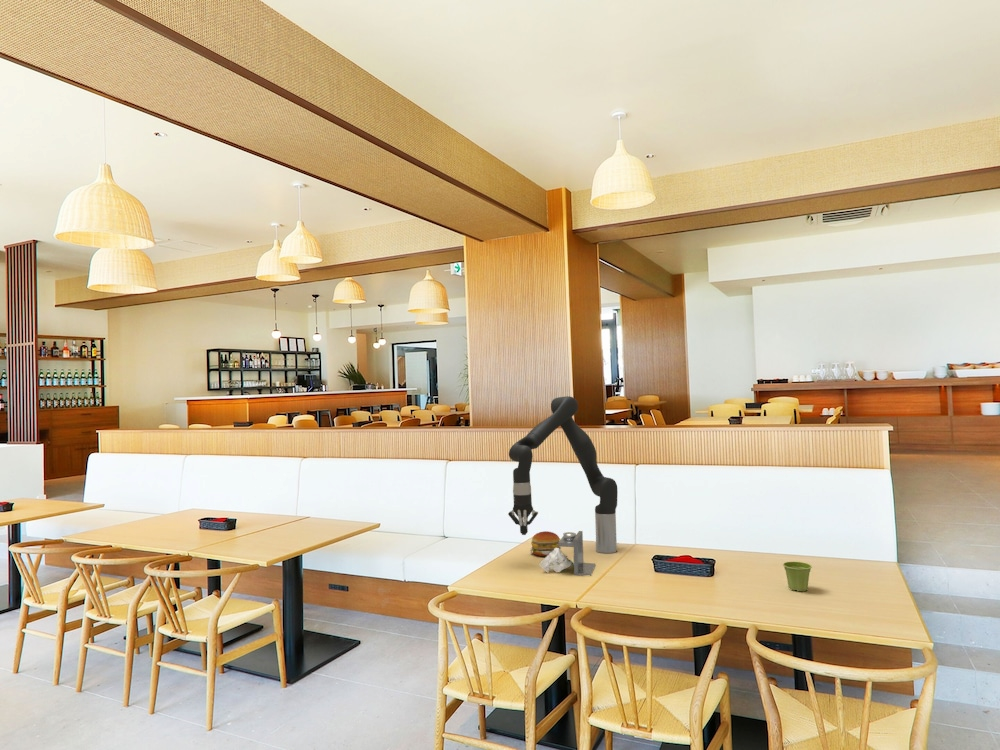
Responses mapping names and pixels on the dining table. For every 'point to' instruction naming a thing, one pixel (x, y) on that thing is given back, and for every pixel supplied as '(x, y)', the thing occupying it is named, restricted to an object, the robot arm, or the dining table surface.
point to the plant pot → (797, 575)
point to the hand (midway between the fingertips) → (524, 534)
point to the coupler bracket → (577, 552)
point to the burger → (544, 543)
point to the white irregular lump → (556, 561)
